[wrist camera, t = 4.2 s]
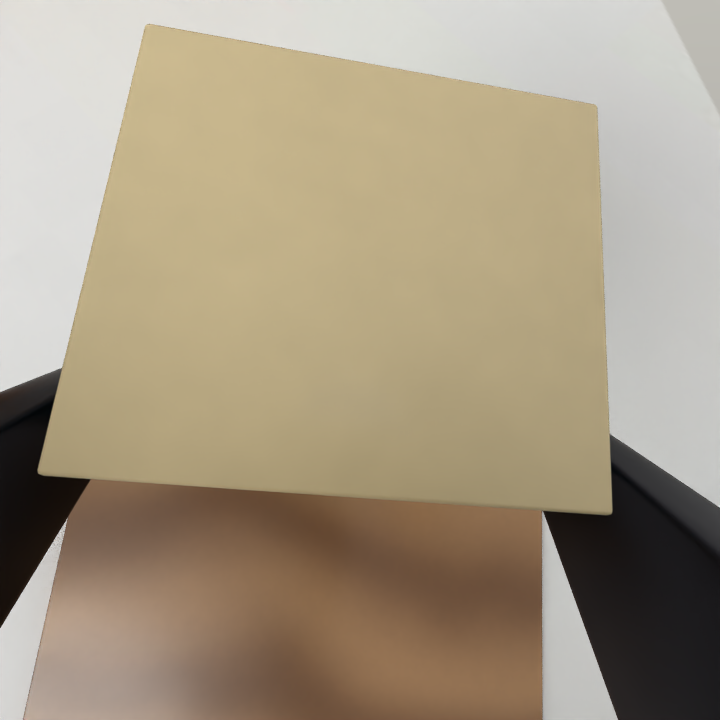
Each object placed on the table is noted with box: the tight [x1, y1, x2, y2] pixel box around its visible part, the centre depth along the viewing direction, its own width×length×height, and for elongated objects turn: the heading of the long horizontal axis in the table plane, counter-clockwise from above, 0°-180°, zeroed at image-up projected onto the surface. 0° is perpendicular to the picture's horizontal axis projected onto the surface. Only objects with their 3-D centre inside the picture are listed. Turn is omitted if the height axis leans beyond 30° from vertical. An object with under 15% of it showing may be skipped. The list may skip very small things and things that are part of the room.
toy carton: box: [38, 24, 612, 515], centre depth 10 cm, size 5×6×12 cm
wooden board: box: [23, 479, 542, 720], centre depth 14 cm, size 18×20×1 cm
